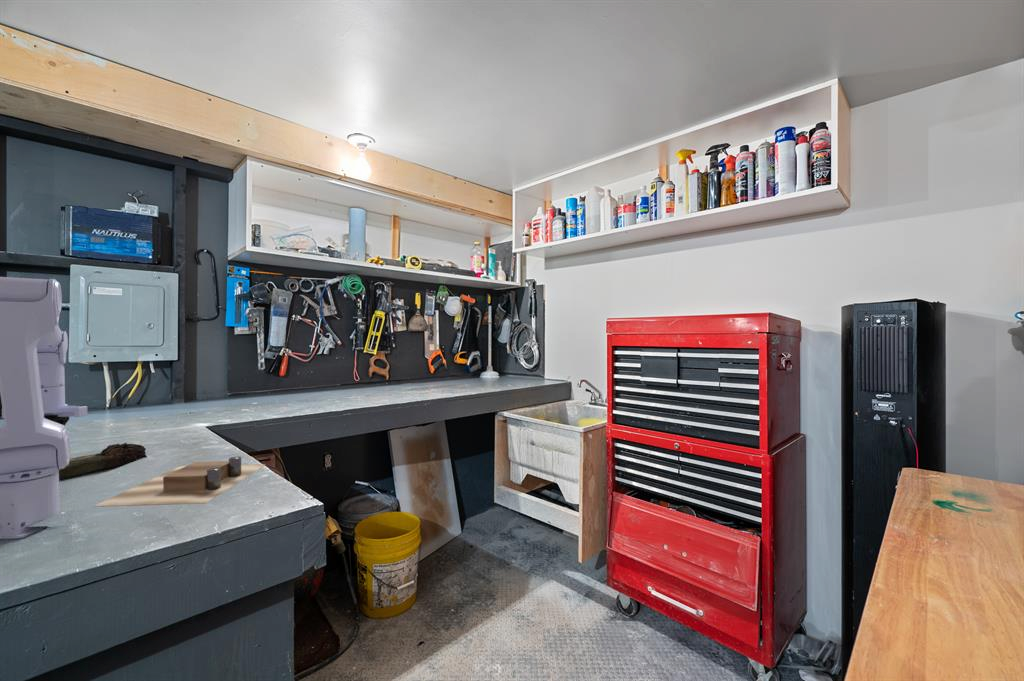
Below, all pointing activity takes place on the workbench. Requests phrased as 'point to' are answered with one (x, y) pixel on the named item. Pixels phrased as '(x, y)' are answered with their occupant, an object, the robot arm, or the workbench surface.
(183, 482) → the walnut plate
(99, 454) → the mossy wood log
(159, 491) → the bench board
